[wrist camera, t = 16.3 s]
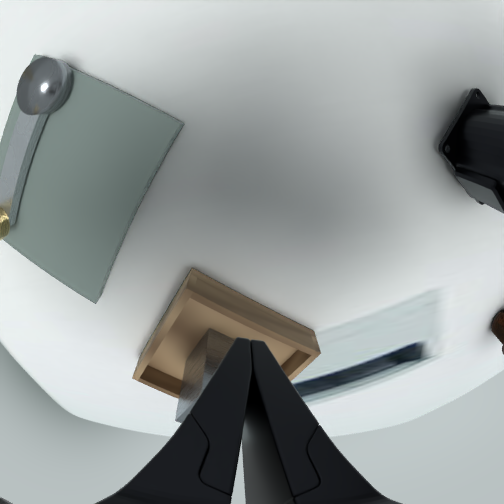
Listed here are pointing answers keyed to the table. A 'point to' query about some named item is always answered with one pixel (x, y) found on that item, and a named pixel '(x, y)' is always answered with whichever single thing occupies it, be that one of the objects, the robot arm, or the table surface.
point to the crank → (30, 128)
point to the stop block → (201, 369)
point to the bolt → (499, 327)
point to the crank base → (86, 180)
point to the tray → (224, 321)
